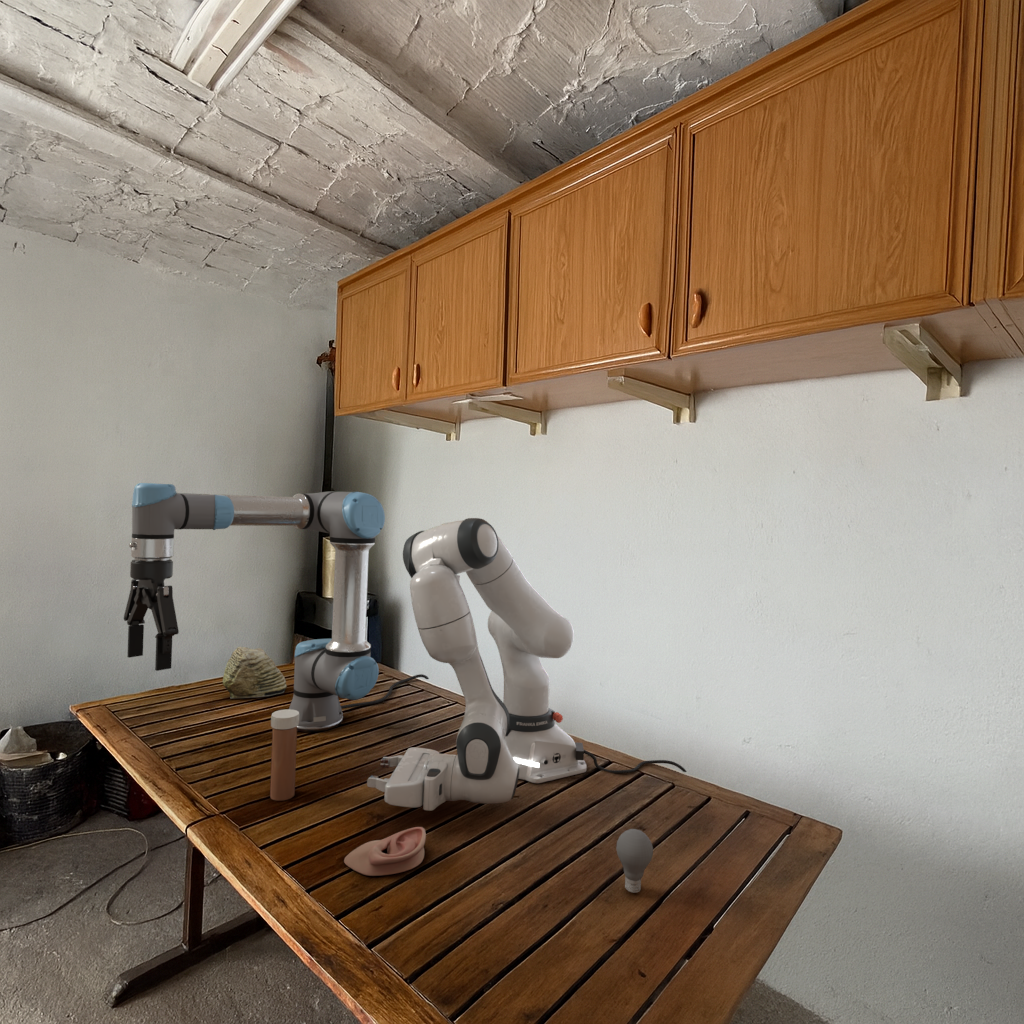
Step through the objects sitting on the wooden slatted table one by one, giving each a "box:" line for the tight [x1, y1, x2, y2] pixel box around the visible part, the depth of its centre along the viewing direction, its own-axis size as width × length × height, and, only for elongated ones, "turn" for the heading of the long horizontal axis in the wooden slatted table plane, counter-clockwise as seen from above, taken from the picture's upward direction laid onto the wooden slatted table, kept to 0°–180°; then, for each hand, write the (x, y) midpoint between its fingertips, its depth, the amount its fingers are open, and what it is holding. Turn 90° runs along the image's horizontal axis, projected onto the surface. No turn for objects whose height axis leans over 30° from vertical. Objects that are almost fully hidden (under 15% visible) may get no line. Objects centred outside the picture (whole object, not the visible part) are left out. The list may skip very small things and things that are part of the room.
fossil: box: [222, 646, 288, 699], centre depth 198 cm, size 9×18×15 cm, turn 132°
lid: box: [270, 708, 299, 729], centre depth 133 cm, size 6×6×2 cm
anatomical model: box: [343, 826, 427, 877], centre depth 112 cm, size 13×4×12 cm
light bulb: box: [615, 828, 654, 894], centre depth 106 cm, size 6×6×10 cm
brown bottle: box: [269, 726, 298, 802], centre depth 134 cm, size 5×5×17 cm
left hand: (148, 662), depth 129 cm, fingers open, 13 cm apart
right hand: (374, 771), depth 132 cm, fingers open, 8 cm apart
